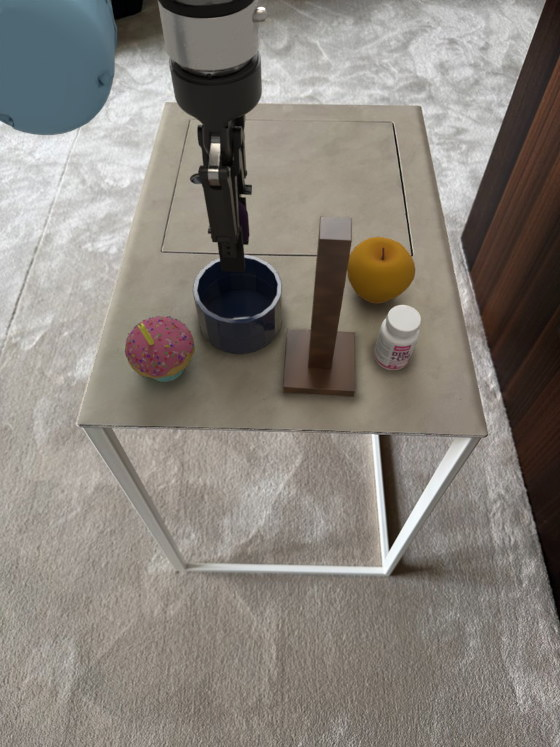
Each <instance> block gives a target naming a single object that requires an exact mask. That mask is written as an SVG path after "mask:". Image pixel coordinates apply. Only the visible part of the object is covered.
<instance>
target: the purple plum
mask: <svg viewBox="0 0 560 747" xmlns="http://www.w3.org/2000/svg"><path fill="white" fill-rule="evenodd" d="M246 207H247V206H246ZM246 207H245V206H244V205H243V204H242V203H241V202H239V201H238V210H239V225H242V233H243V244H244V243H246V242H247V240H248V239H249V240H250V222H249V212H248V209H246Z"/></svg>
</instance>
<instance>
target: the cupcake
mask: <svg viewBox="0 0 560 747" xmlns="http://www.w3.org/2000/svg"><path fill="white" fill-rule="evenodd" d="M195 345H196V344H195V339H194V336H193V334H192V331H190V329H189V328H188V326H187V325H186V323H184V322H182V321H181V320H178V319H177V318H173V317H171V315H168V316H161V315H158V316H153V317H148V318H146V319H143V320H142V321H141V322H137V324H135V326H134V327H133V328H132V330H131V331H130V332H128V333H127V338H126V339H125V348H124V355H125V357H126V360H127V362H128V364H129V366H130V368H131V369H132V370H133V371H134V372H136V373H137V374H138V375H139V376H142V377H144V378H145V377H147V378H151V379H154V380H155V381H158V382H161V383H164V382H165V383H166V382H171V381H174V380H177V379H178V378H179V377H180V376H181V375H182V374H183V372H184V370H185V369H186V368H187V367H188V366H189V364H190V362H191V360H192V358H193V356H194V354H195V351H196V347H195Z"/></svg>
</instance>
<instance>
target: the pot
mask: <svg viewBox="0 0 560 747" xmlns="http://www.w3.org/2000/svg"><path fill="white" fill-rule="evenodd" d="M244 257H245V272H232V271H221V264H220V257H219V258H215V259H213V260H212V261H210V262H208V263H207V264H206V265H204V266H203V267H202V268H201V269H200V271H199V272H198V274H197V275H196V277H194V282H193V287H192V294H193V300H194V305H195V309H196V314H197V318H198V319H197V320H198V323H199V327H200V331H201V334H202V335H203V337H204V339H205V340H206V341H207V342H208V344H210V345H211V346H212V347H213V348H214V349H216V350H219V351H221V352H224V353H227V354H232V355H247V354H252V353H255V352H259V351H260V350H263V349H265V348H266V347H267V346H269V345H270V344H272V342H274V340H275V339H276V338H277V336H278V335H279V332H280V330H281V327H282V319H283V282H282V280H281V277H280V275H279V274H280V273H279V272H278V271H277V270H276V269H275V268H274V267H273V266H272V265H271V263H269V262H268V261H265V260H263V259H262V258H260V257H258V256H254V255H248V254H244Z"/></svg>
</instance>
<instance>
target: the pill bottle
mask: <svg viewBox="0 0 560 747" xmlns="http://www.w3.org/2000/svg"><path fill="white" fill-rule="evenodd" d="M421 324H422V316H421V315H420V312H419V311H418V310H417V309H416V308H414V307H413V306H410V305H408V304H407V305H406V304H398V305H395V306H393V307H392V308H391V309H389V311H388V313H387V315H386V317H385V319H383V321H382V323H381V325H380V329H379V333H378V335H377V339H376V343H375V347H374V351H373V356H374V357H373V358H374V359H375V362H376V363H377V365H379V366H380V367H381V368H383V369H385V370H388V371H399V370H401V369H403V368H405V367H406V366H407V365H408V364H409V362H410V360H411V358H412V354H413V353H414V350H415V347H416V345H417V342H418V340H419V337H420V331H421V330H420V326H421Z"/></svg>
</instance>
